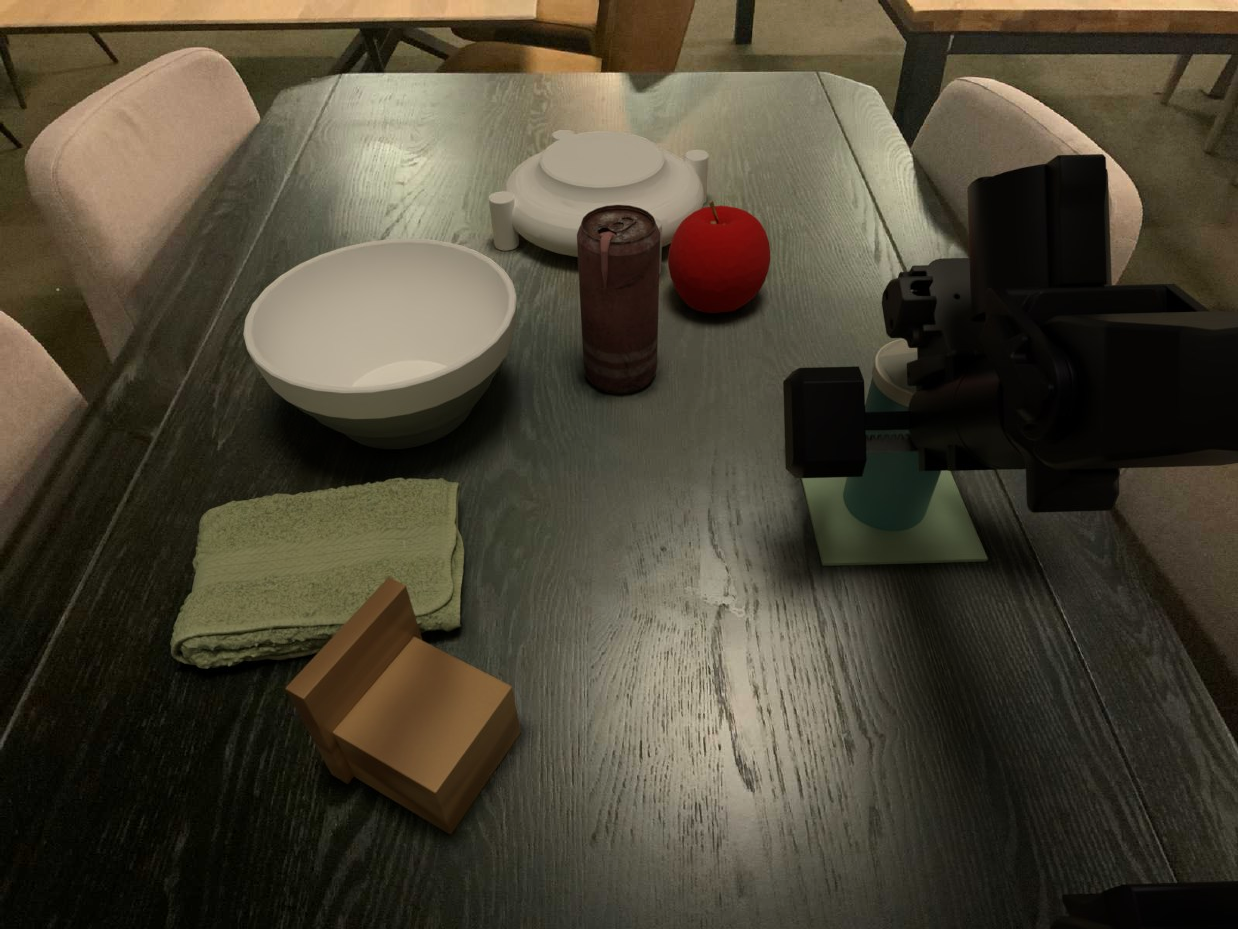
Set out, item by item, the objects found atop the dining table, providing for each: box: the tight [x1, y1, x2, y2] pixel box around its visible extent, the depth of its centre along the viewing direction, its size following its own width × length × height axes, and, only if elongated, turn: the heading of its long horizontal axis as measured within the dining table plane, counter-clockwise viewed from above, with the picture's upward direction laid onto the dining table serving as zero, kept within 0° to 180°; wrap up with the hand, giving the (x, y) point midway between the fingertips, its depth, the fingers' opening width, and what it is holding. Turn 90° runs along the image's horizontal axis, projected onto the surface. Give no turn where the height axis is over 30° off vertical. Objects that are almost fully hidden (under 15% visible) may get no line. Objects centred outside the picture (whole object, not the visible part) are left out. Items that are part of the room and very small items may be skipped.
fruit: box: [667, 199, 771, 314], centre depth 76 cm, size 9×9×10 cm
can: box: [577, 205, 660, 395], centre depth 67 cm, size 6×6×14 cm
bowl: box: [243, 237, 518, 450], centre depth 66 cm, size 20×20×10 cm
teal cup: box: [843, 338, 941, 531], centre depth 57 cm, size 6×6×12 cm
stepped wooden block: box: [285, 577, 521, 835], centre depth 45 cm, size 8×8×9 cm
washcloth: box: [170, 477, 465, 670], centre depth 56 cm, size 13×18×3 cm
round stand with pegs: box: [488, 129, 710, 276], centre depth 87 cm, size 24×24×7 cm
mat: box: [800, 470, 989, 567], centre depth 61 cm, size 11×11×1 cm
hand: (901, 427), depth 57 cm, fingers open, 9 cm apart
